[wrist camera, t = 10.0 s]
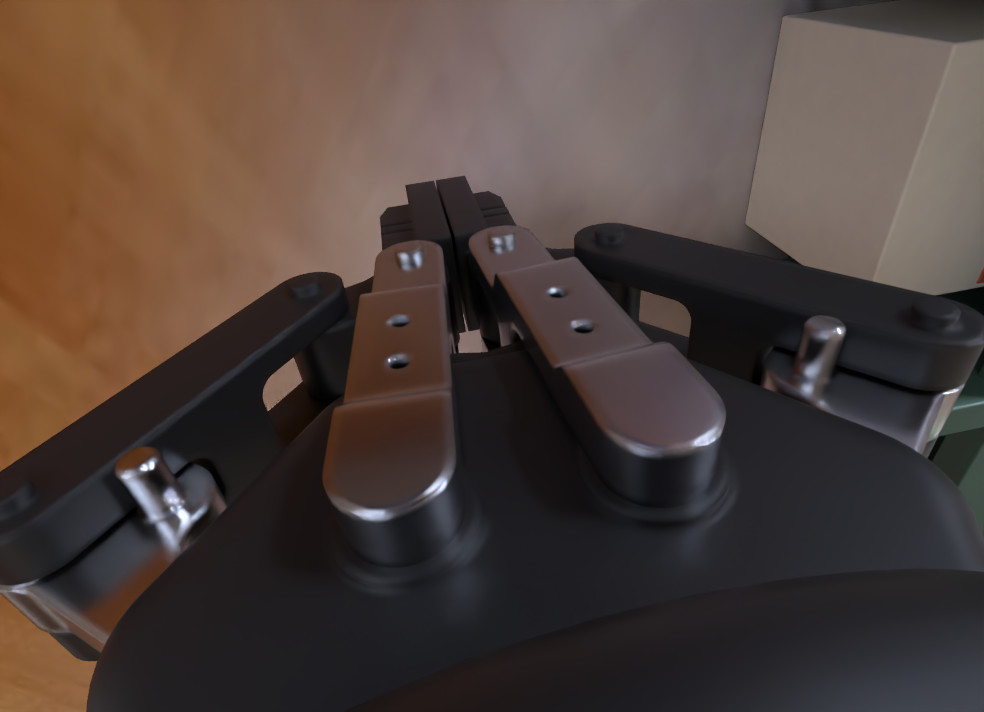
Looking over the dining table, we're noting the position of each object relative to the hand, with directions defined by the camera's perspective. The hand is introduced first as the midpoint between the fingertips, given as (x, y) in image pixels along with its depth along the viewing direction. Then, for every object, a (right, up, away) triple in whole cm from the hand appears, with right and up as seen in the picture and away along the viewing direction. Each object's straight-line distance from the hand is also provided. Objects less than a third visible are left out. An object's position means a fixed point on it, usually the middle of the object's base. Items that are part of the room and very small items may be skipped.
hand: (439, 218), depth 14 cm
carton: (+14, +5, +4) cm, 16 cm away
